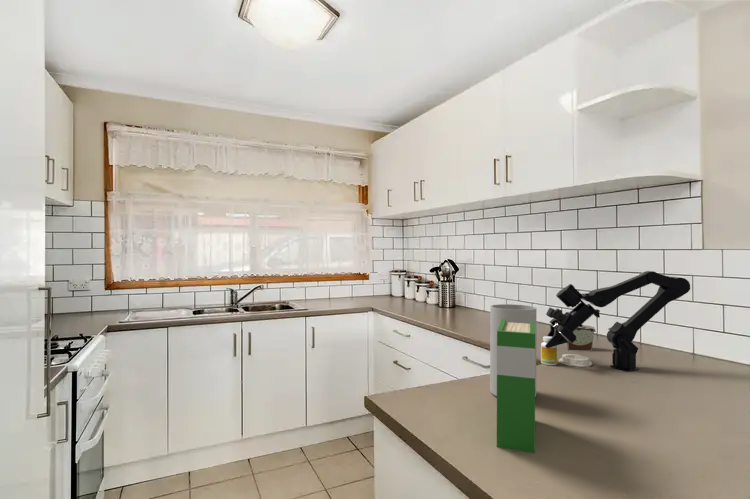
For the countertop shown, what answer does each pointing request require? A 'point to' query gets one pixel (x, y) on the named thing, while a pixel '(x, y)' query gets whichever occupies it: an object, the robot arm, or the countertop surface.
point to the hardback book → (516, 386)
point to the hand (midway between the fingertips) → (544, 345)
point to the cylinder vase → (496, 315)
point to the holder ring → (575, 360)
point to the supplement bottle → (548, 353)
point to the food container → (582, 339)
